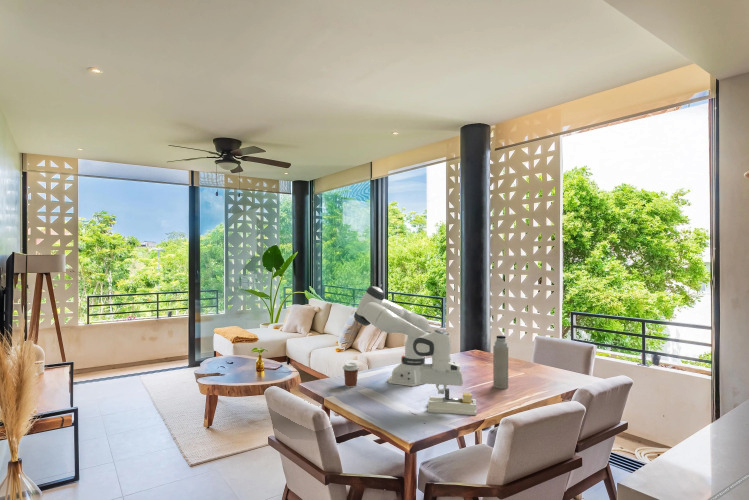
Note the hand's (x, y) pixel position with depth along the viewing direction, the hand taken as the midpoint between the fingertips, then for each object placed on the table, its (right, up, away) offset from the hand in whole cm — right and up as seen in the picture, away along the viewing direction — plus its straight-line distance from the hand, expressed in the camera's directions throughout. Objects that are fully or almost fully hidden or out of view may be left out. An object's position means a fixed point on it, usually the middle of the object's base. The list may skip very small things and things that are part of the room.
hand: (441, 393), depth 210 cm
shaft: (+5, -5, -1) cm, 8 cm away
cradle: (+5, -7, -1) cm, 9 cm away
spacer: (+12, -5, -2) cm, 13 cm away
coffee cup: (-45, -7, +35) cm, 58 cm away
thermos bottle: (+38, -8, +34) cm, 52 cm away
